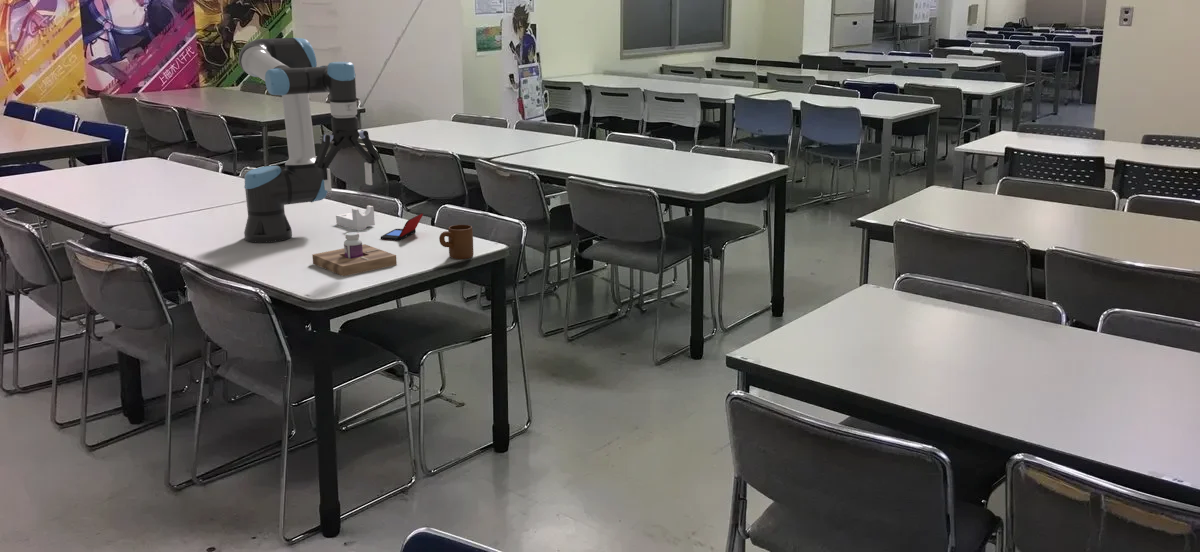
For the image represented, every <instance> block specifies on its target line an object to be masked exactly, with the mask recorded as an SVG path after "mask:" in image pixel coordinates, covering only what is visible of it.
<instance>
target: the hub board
mask: <svg viewBox="0 0 1200 552" xmlns="http://www.w3.org/2000/svg"><path fill="white" fill-rule="evenodd" d="M362 248H363V256H362V257H357V258H352V259H349V258H346V257H345V251H344V247H343V248H340V249H339V248H338V249H334V250H328V251H323V252H318V253H313V254H312V264H313V265H315V266H317V267H320V268H322V269H325V270H327V271H329V272H332V273H334V274H337V275H339V276H341V277H346V276H351V275H355V274H361V273H366V272H369V271H374V270H378V269H384V268H387V267H388V268H389V267H392V266H396V265H398V264H397V263H398V262H397V255H396V254H394V253H391V252H388V251H385V250H383V249H380V248H377V247H374V246H370V245H368V244H362Z"/></svg>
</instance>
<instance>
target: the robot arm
mask: <svg viewBox="0 0 1200 552" xmlns="http://www.w3.org/2000/svg"><path fill="white" fill-rule="evenodd" d="M317 62H318V61H317V56H316V53H315V50H314V47H313V46H312V44H311V43H310V41H309V40H307V39H306V38H301V37H278V38H259V39H254V40H251V41H249V42H248V43H247V44H244V46H243V47H242V48H241V50H240V52H239V55H238V63H239V66H240V68H241V69H242V71H243V72H245V73H246V74H248V75H249V76H251V77H254V78H258V79H261V80H262V81H264V82H265V86H266V87H265V88H266V90H267V92H268V94H270V95H273V96H281V99H282V107H283V118H284V124H285V131H286V132H285V134H286V142H287V144H286V145H287V153H288V159H287V161H286V162H285V163H284V166H285V169H282V168H281V167H280V166H279V165H270V166H269V165H267V166H266V165H265V166H260V167H257V168H253V169H250V170H248V171H247V172H246V173H245V175H244V187H243V188H244V190H245V191H244V192H245V200H246V207H247V208H246V210H247V219H246V222H245V223H246V224H245V228H244V232H243V237H244V240H245V241H246V242H250V243H259V244H261V243H262V244H263V243H265V244H266V243H274V242H282V241H284V240H285V241H286V240H288V239H291V238H292V236H293V230H292V227H291V225H290V222H289V221H288V218H287V215H286V213H285V206H286V205H296V204H302V203H303V204H304V203H314V202H319V201H323V200H325V198H327V197H326V196H327V194H328V193H329V192H332V191H333V190H332V179H331V178H332V177H331V168H329V166H330V165H331V163H332V162H333V161H334V158H336V156H337V154H338V153H339V152H340V150H341V149H348V148H349V149H350V148H351V149H352V148H354V149H355V150H356V151H357V152H358V153H359V154H360V155H361V157H362V158H363V159H364V160H365V161H366V162H364V175H365V176H364V177H365V179H364V180H365V184H366V185H367V186H373V174H374V173H375V168H374V167H375V164H376V161H379V160H380V157H379V154H378V153H377V151H376V149H375V146H374V144H373V143H372V141H371V139H370V138H369V137H370V136H369V131H368V130H365V129H361V130H360V131H359V120H358V119H359V118H358V117H357V115H358V107H357V106H358V104H357V102H358V101H357V87H356V85H357V84H356V72H355V71H356V70H355V65H354V63H353V62H351V61H333V62H332V61H331V62H329V63H328V64H327V65H321V66H317ZM324 93H325V94H326V93H328V94H329V105H330V115H331V116H332V117H331V119H330V120H331V121H330V123H331V129H332V130H331V131H332V134H326V133H324V134H322V136H321V137H322V138H321V143H320V147H319V150H318V153H317V155H316V147H315V139H314V138H315V137H314V129H313V122H312V121H313V120H312V113H311V112H312V111H311V103H310V94H324ZM359 138H360V139H361V141H362V143H363V144H364V146H365V148H366V149H365V148H364V147H363V146H362V143H360V142H359ZM332 141H333V143H332V144H331V142H332ZM330 145H331V146H330ZM329 148H330V149H329ZM366 150H367V151H366Z"/></svg>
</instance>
